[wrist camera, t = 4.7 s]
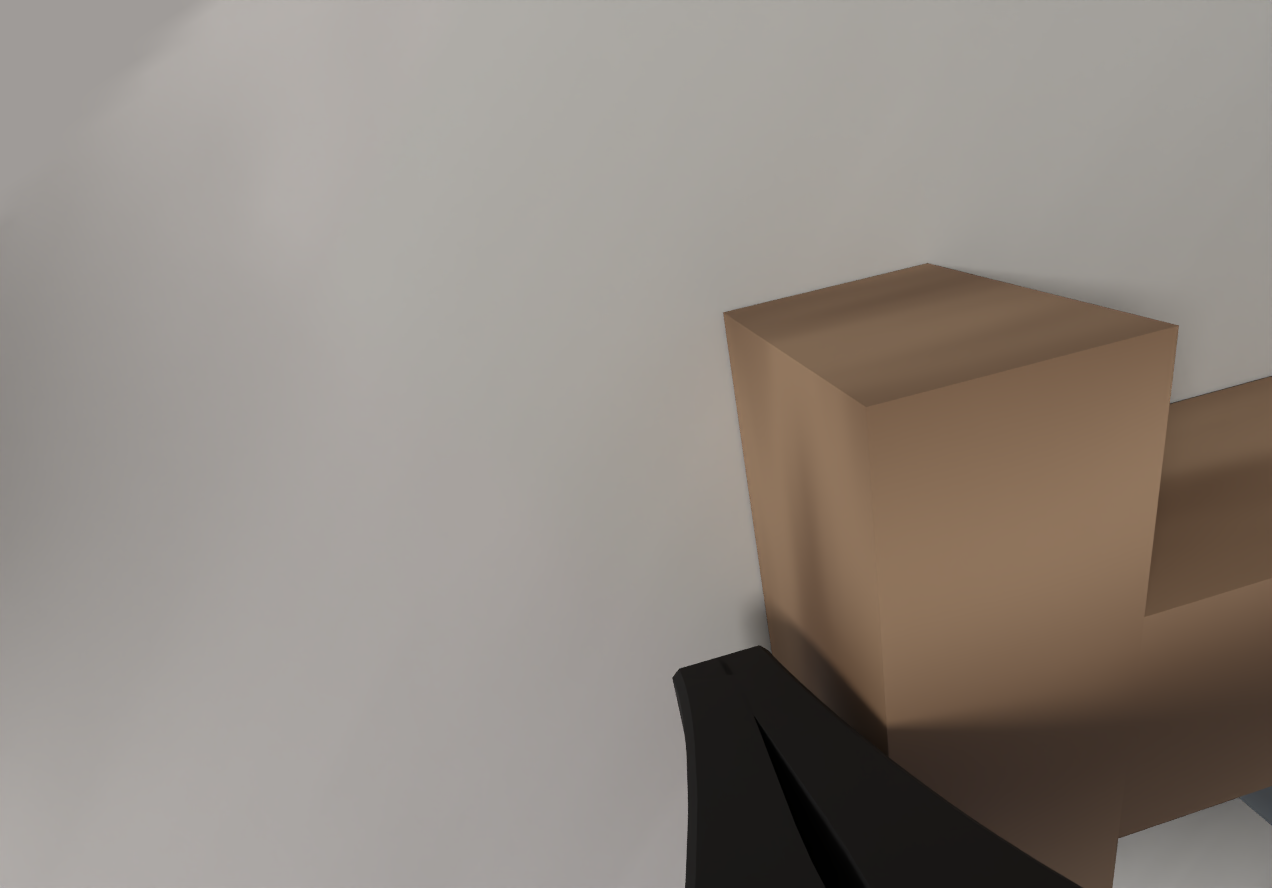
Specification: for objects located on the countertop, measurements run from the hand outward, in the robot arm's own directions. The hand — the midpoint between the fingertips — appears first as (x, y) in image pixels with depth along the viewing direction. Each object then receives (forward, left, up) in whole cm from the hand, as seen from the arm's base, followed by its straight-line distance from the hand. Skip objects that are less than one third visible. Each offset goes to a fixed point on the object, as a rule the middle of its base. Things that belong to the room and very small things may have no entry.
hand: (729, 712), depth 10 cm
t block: (0, -6, -2) cm, 6 cm away
